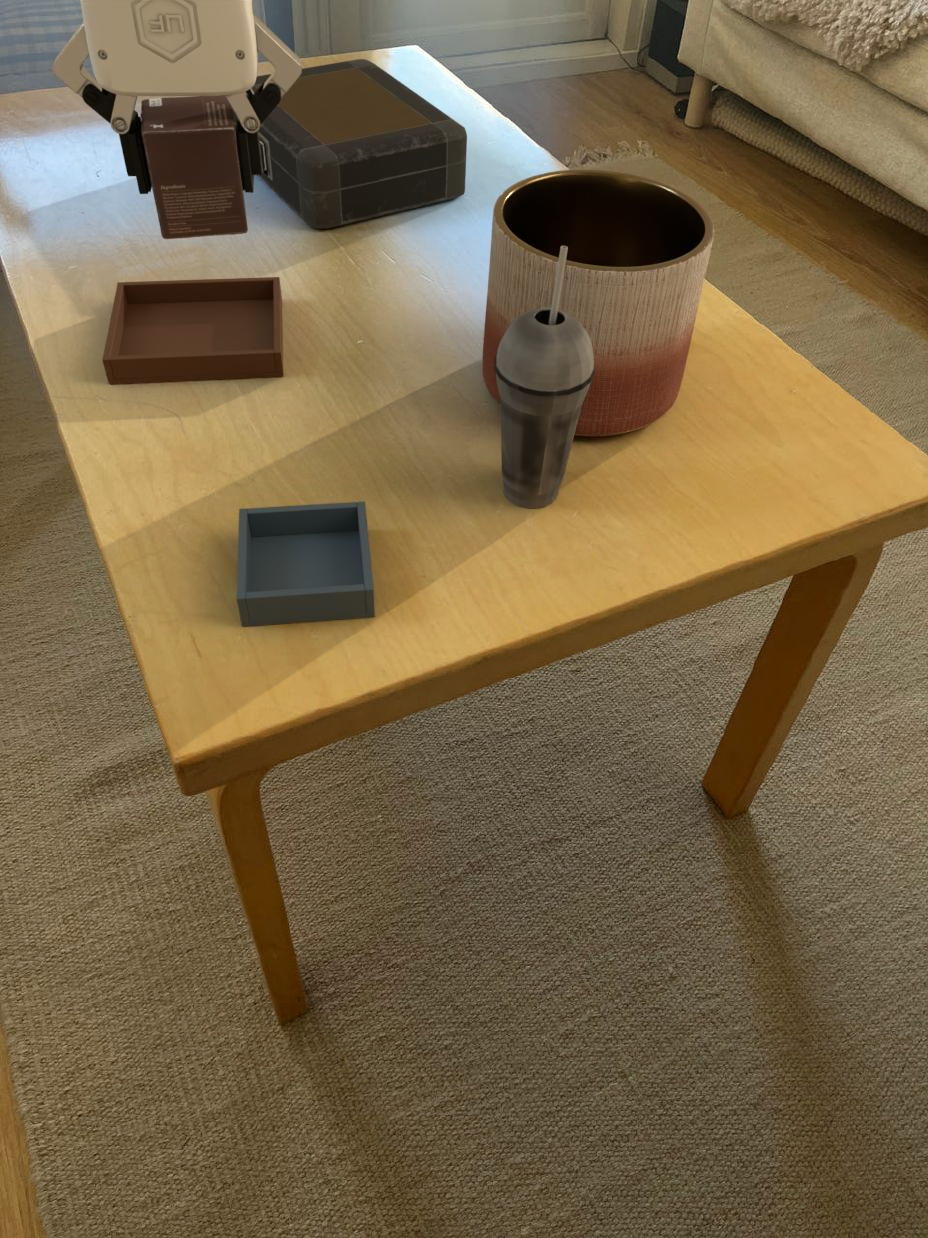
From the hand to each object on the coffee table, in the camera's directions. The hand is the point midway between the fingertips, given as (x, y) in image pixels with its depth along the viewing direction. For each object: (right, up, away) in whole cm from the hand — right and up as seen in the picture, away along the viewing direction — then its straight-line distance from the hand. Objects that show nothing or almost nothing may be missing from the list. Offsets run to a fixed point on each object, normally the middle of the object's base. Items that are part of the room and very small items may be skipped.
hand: (198, 182), depth 69 cm
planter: (+29, -9, +20) cm, 37 cm away
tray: (-6, -4, +23) cm, 24 cm away
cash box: (+4, +22, +48) cm, 53 cm away
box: (0, -2, +2) cm, 3 cm away
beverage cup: (+24, -20, +10) cm, 33 cm away
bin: (+7, -27, +3) cm, 28 cm away
